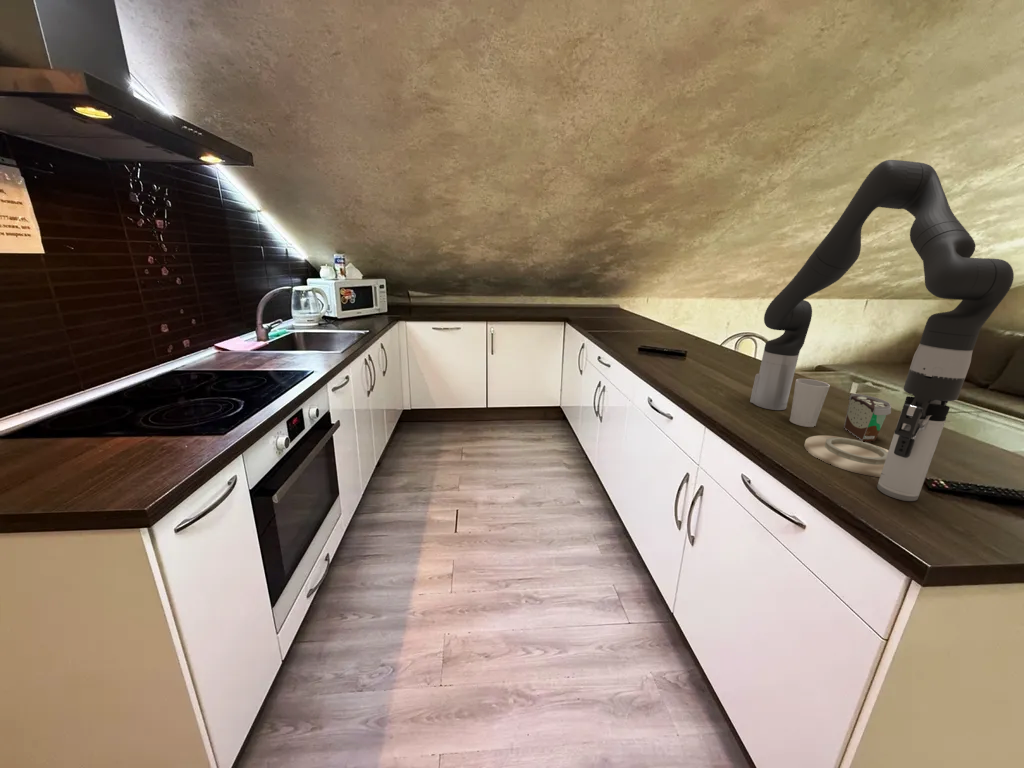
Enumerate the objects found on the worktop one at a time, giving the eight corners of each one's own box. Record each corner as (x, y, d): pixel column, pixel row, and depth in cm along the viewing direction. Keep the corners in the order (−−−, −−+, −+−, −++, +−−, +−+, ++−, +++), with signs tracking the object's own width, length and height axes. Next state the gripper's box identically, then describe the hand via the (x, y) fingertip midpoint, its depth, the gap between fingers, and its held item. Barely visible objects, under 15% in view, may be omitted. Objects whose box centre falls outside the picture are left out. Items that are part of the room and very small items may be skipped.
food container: (892, 446, 110) (905, 409, 107) (865, 443, 111) (876, 407, 108) (865, 428, 121) (875, 394, 118) (840, 426, 122) (850, 392, 119)
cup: (821, 423, 124) (832, 383, 120) (816, 430, 118) (827, 388, 115) (789, 415, 129) (799, 377, 126) (783, 422, 123) (793, 381, 120)
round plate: (787, 448, 106) (790, 439, 105) (828, 434, 116) (830, 426, 115) (887, 486, 89) (891, 475, 89) (924, 466, 99) (928, 456, 99)
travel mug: (867, 485, 89) (896, 393, 84) (896, 485, 90) (927, 393, 84) (895, 502, 83) (928, 404, 78) (926, 501, 84) (961, 404, 78)
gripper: (925, 363, 86) (900, 438, 91) (895, 369, 79) (870, 451, 83) (978, 372, 80) (948, 452, 84) (951, 380, 73) (920, 467, 77)
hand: (910, 451), depth 84 cm, fingers open, 8 cm apart
